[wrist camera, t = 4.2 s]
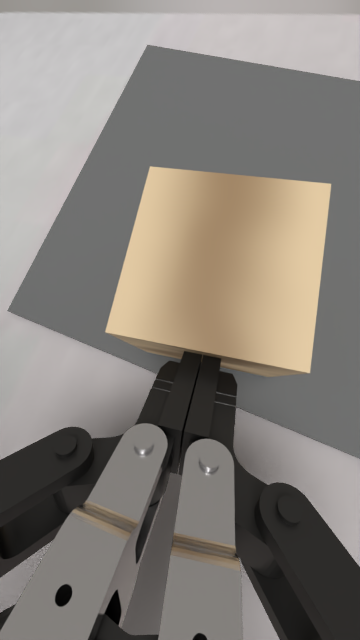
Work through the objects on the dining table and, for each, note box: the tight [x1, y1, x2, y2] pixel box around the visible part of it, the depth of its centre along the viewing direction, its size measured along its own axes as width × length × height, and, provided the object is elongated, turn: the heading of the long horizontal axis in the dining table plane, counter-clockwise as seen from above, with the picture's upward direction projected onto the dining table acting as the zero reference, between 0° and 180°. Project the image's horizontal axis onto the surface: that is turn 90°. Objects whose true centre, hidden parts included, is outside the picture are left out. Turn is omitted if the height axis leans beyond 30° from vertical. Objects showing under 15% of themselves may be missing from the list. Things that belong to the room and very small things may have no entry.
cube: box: [105, 166, 331, 377], centre depth 13 cm, size 7×7×7 cm
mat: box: [8, 45, 360, 458], centre depth 18 cm, size 26×24×1 cm
